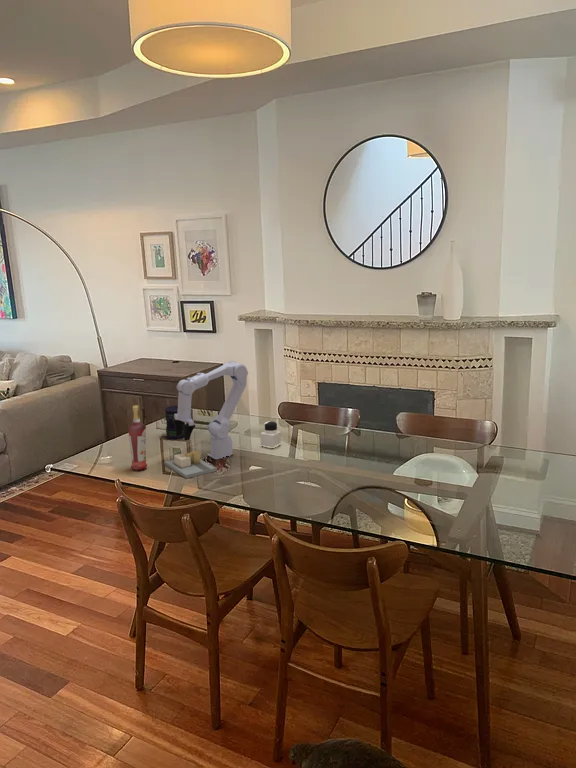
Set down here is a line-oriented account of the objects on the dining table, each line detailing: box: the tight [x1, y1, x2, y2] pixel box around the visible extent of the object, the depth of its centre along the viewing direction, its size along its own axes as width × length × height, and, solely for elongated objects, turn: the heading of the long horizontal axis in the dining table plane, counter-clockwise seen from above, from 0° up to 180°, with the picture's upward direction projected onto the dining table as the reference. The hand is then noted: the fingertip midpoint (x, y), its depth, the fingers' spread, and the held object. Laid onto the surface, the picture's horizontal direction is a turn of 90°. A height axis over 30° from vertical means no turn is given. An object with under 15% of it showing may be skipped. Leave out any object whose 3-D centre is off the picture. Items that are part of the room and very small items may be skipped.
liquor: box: [127, 404, 148, 471], centre depth 252 cm, size 7×7×28 cm
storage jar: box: [165, 405, 186, 441], centre depth 297 cm, size 10×10×15 cm
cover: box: [173, 453, 191, 468], centre depth 255 cm, size 4×7×4 cm, turn 37°
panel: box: [164, 456, 217, 479], centre depth 256 cm, size 14×20×2 cm
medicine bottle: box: [260, 420, 282, 447], centre depth 283 cm, size 7×7×12 cm
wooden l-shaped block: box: [184, 450, 201, 464], centre depth 256 cm, size 6×4×5 cm, turn 127°
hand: (182, 437), depth 260 cm, fingers open, 7 cm apart
